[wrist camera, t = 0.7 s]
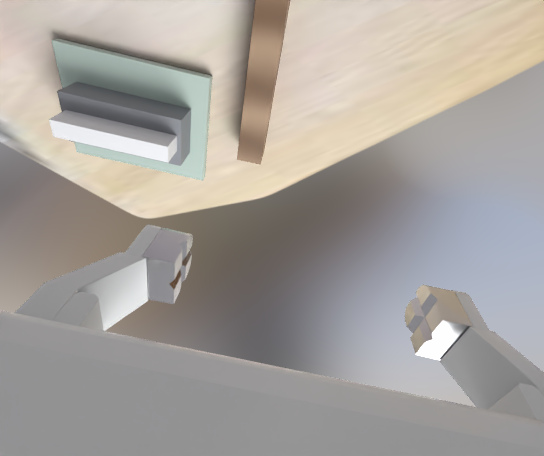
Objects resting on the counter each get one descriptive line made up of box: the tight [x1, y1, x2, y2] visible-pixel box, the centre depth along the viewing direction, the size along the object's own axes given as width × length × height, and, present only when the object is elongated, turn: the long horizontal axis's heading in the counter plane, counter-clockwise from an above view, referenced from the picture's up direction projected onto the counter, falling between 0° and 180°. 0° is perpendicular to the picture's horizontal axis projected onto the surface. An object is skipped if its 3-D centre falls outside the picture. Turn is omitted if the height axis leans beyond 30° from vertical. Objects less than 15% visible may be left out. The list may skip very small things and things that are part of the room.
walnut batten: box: [237, 0, 290, 164], centre depth 36 cm, size 18×3×4 cm, turn 170°
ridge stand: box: [49, 38, 212, 180], centre depth 38 cm, size 14×18×8 cm
